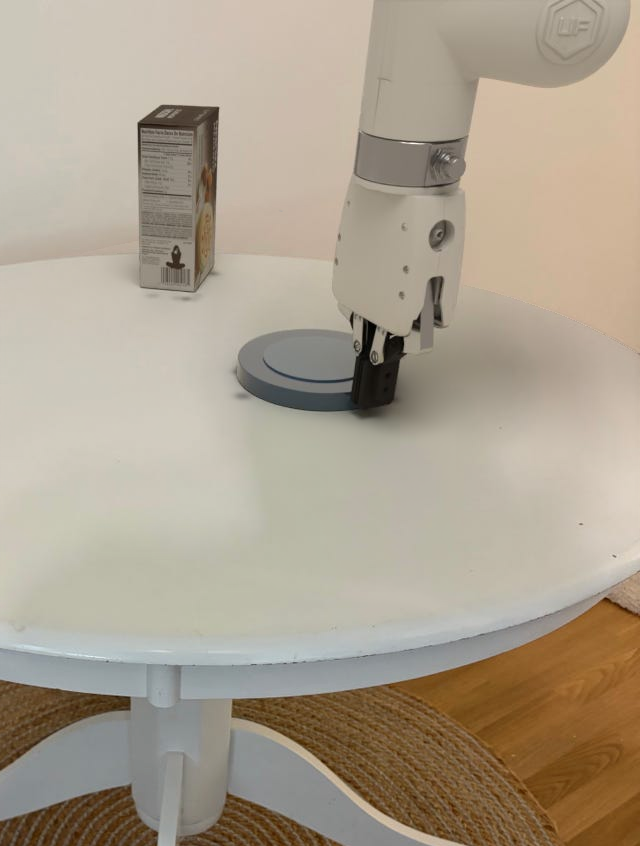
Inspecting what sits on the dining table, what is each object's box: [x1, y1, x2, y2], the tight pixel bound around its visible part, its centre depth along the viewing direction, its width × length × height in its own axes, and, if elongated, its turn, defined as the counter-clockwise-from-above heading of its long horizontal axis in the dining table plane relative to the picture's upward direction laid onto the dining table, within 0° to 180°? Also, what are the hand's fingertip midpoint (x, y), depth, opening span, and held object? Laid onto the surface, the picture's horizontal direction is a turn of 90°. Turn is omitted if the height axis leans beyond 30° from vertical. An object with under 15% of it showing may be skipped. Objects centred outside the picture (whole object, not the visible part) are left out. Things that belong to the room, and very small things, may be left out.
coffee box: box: [136, 104, 220, 293], centre depth 103 cm, size 9×6×16 cm
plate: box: [236, 328, 400, 412], centre depth 87 cm, size 14×14×2 cm
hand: (371, 402), depth 81 cm, fingers closed
